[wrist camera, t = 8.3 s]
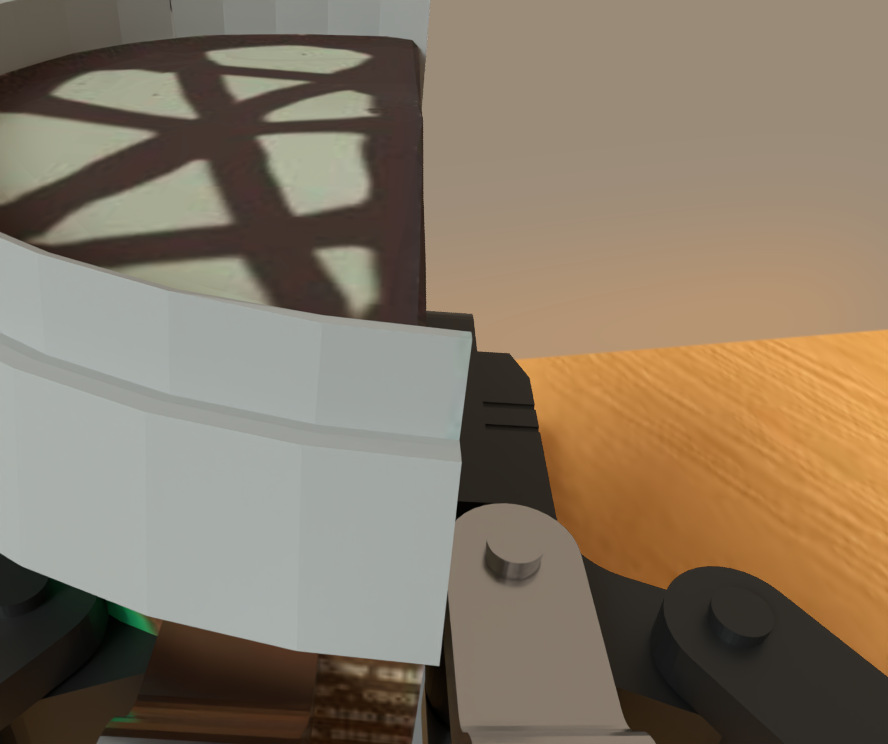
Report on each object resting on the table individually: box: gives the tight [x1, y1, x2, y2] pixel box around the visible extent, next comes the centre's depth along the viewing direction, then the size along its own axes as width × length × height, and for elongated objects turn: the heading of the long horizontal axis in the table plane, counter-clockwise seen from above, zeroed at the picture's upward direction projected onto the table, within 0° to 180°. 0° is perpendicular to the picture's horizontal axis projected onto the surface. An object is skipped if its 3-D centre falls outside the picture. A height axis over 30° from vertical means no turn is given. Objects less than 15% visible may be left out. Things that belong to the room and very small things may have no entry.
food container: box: [0, 0, 472, 744], centre depth 12 cm, size 12×6×10 cm, turn 1°
